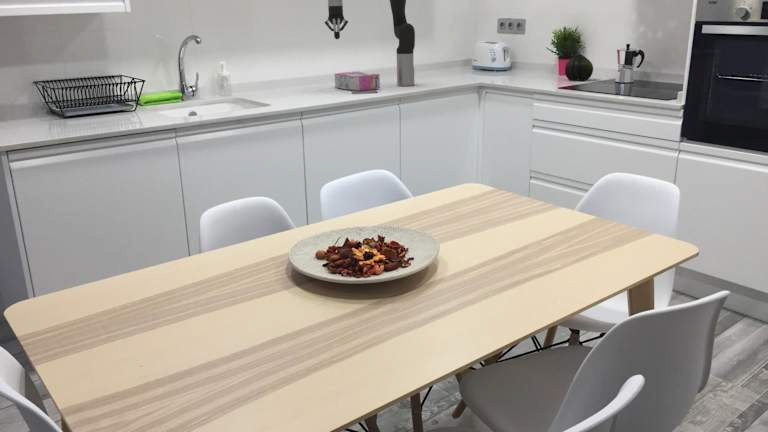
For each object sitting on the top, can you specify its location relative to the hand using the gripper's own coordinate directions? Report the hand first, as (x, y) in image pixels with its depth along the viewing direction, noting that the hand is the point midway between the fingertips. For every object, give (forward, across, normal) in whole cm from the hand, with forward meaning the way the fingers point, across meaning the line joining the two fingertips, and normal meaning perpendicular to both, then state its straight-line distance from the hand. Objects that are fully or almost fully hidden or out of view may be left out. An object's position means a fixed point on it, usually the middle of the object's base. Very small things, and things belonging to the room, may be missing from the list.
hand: (337, 39), depth 362 cm
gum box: (+22, -3, +6) cm, 23 cm away
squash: (+27, -133, +6) cm, 135 cm away
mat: (+26, -12, +9) cm, 30 cm away
